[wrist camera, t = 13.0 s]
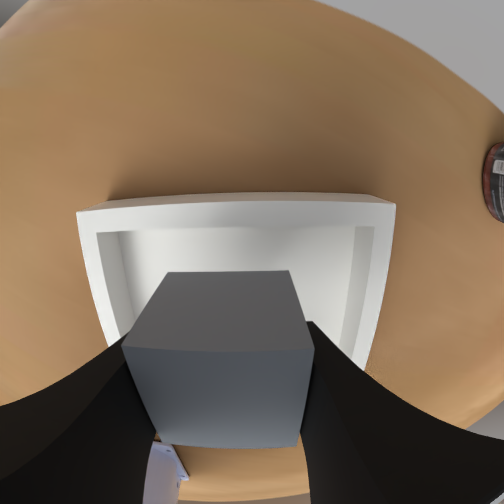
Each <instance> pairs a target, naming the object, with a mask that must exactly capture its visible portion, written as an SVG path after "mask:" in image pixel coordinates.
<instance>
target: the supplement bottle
mask: <svg viewBox="0 0 504 504" xmlns="http://www.w3.org/2000/svg"><path fill="white" fill-rule="evenodd" d="M483 190H484V195H485V200H486V204H487V207H488V209H489V211H490V212H491V214H492V215H493V217H494V218H495V219H497V220H498V221H500V222H502V223H504V143H503V142H502V143H498V144H496V145H495V146H493V147H492V148H491V150H490V151H489V153H488V156H487V158H486V162H485V166H484V172H483Z"/></svg>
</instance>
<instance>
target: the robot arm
mask: <svg viewBox="0 0 504 504" xmlns="http://www.w3.org/2000/svg"><path fill="white" fill-rule="evenodd" d="M306 323H307V326H308V329H309V332H310V335H311V339H312V342H313V345H314V348H315V350H314V356H313V363H312V369H311V375H310V381H309V387H308V392H307V398H306V403H305V408H304V413H303V418H302V423H301V428H300V434H301V439H302V443H303V447H304V451H305V456H306V461H307V468H308V477H309V487H310V497H311V504H490V503H491V502H492V501H494V500H495V499H496V498H498V497H499V496H500V495H501V494H502V493H504V440H501V439H496V438H492V437H488V436H483V435H479V434H476V433H473V432H470V431H467V430H464V429H461V428H459V427H456V426H453V425H451V424H448V423H446V422H444V421H442V420H439V419H437V418H435V417H433V416H431V415H429V414H427V413H425V412H423V411H421V410H420V409H418V408H416V407H414V406H412V405H411V404H409V403H407V402H406V401H404V400H402V399H401V398H399V397H398V396H396V395H395V394H393V393H392V392H390V391H389V390H387V389H386V388H385V387H383V386H382V385H381V384H379V383H378V382H377V381H375V380H374V379H373V378H372V377H370V376H369V375H368V374H367V373H365V372H364V371H363V370H362V369H361V368H359V367H358V366H357V365H356V364H355V363H354V362H353V361H352V360H351V359H350V358H349V357H347V356H346V355H345V354H344V353H343V352H342V351H341V350H340V349H339V348H338V347H337V346H336V345H335V344H334V343H333V342H332V341H331V340H330V339H329V338H328V337H327V336H326V335H325V333H324V332H323V331H322V330H321V329H320V328H319V327H318V326H317V325H316V324H315V323H314V322H313V321H306ZM128 333H129V332H128ZM128 333H127V334H125V335H124V336H123V337H121V338H120V339H119V340H118V341H116V342H115V343H114V344H112V345H111V346H110V347H108V348H107V349H106V350H104V351H103V352H102V353H100V354H99V355H98V356H96V357H95V358H93V359H92V360H90V361H89V362H87V363H86V364H85V365H83V366H82V367H80V368H79V369H77V370H76V371H74V372H73V373H71V374H70V375H68V376H66V377H65V378H63V379H61V380H60V381H58V382H56V383H54V384H52V385H50V386H49V387H47V388H45V389H43V390H41V391H38V392H36V393H34V394H32V395H29V396H27V397H25V398H22V399H20V400H17V401H15V402H12V403H9V404H6V405H3V406H0V504H177V501H178V495H179V488H180V482H181V480H189V476H188V474H187V472H186V471H185V469H184V467H183V465H182V463H181V461H180V459H179V458H178V456H177V454H176V452H175V450H174V448H173V446H172V445H171V444H168V443H161V442H155V441H154V438H155V435H156V429H155V427H154V425H153V423H152V421H151V419H150V417H149V415H148V413H147V410H146V408H145V406H144V404H143V401H142V399H141V397H140V394H139V392H138V390H137V387H136V385H135V382H134V380H133V377H132V375H131V372H130V369H129V367H128V364H127V361H126V358H125V356H124V353H123V350H122V347H121V345H122V343H123V341H124V340H125V338H126V336H127V335H128ZM499 504H504V499H503V500H502V501H501V502H500V503H499Z"/></svg>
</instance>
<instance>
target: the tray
mask: <svg viewBox="0 0 504 504" xmlns="http://www.w3.org/2000/svg"><path fill="white" fill-rule="evenodd" d="M395 213H396V204H395V203H392V202H389V201H386V200H383V199H381V198H378V197H375V196H372V195H369V194H350V193H320V192H240V193H209V194H188V195H171V196H157V197H144V198H132V199H122V200H112V201H105V202H102V203H99V204H97V205H94V206H91V207H88V208H86V209H83V210H81V211H78V212H76V215H77V222H78V229H79V235H80V241H81V246H82V252H83V257H84V262H85V266H86V271H87V275H88V279H89V283H90V287H91V291H92V295H93V299H94V302H95V306H96V309H97V313H98V316H99V319H100V323H101V326H102V329H103V332H104V335H105V338H106V341H107V344H108V346H109V347H110V346H111V345H112V344H114V343H115V342H116V341H118V340H119V339H120V338H121V337H123V336H124V335H125V334H127V333H128V332H129V331H130V330H131V328H132V326H133V325H134V323H135V322H136V320H137V318H138V317H139V315H140V314H141V312H142V311H143V309H144V307H145V306H146V304H147V303H148V301H149V300H150V298H151V296H152V295H153V293H154V292H155V290H156V289H157V287H158V286H159V284H160V283H161V281H162V280H163V278H164V277H165V275H166V274H167V272H224V271H279V270H289V272H290V275H291V278H292V281H293V284H294V287H295V290H296V293H297V296H298V299H299V302H300V305H301V308H302V311H303V314H304V317H305V320H306V321H313V322H314V323H315V324H316V325H317V326H318V327H319V328H320V329H321V330H322V331H323V332H324V333H325V335H326V336H327V337H328V338H329V339H330V340H331V341H332V342H333V343H334V344H335V345H336V346H337V347H338V348H339V349H340V350H341V351H342V352H343V353H344V354H345V355H346V356H347V357H349V358H350V359H351V360H352V361H353V362H354V363H355V364H356V365H357V366H358V367H359V368H361V369H362V370H363V371H364V369H365V366H366V362H367V359H368V356H369V352H370V349H371V345H372V341H373V338H374V334H375V330H376V326H377V322H378V318H379V313H380V309H381V304H382V300H383V295H384V290H385V285H386V279H387V273H388V268H389V261H390V255H391V248H392V240H393V232H394V223H395Z"/></svg>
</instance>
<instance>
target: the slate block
mask: <svg viewBox="0 0 504 504" xmlns="http://www.w3.org/2000/svg"><path fill="white" fill-rule="evenodd" d="M121 347H122V350H123V353H124V356H125V358H126V361H127V364H128V367H129V369H130V372H131V375H132V377H133V380H134V382H135V385H136V387H137V390H138V392H139V394H140V397H141V399H142V401H143V404H144V406H145V408H146V410H147V413H148V415H149V417H150V419H151V421H152V423H153V425H154V427H155V429H156V431H157V433H158V435H159V437H160V439H161V441H162V443H168V444H176V445H184V446H194V447H207V448H228V449H260V448H281V447H294V446H297V441H298V437H299V432H300V428H301V423H302V418H303V413H304V408H305V403H306V398H307V392H308V387H309V381H310V375H311V369H312V363H313V356H314V350H315V348H314V345H313V342H312V339H311V335H310V332H309V329H308V326H307V323H306V320H305V317H304V314H303V311H302V308H301V305H300V302H299V299H298V296H297V293H296V290H295V287H294V284H293V281H292V278H291V275H290V272H289V270H279V271H224V272H167V274H166V275H165V277H164V278H163V280H162V281H161V283H160V284H159V286H158V287H157V289H156V290H155V292H154V293H153V295H152V296H151V298H150V300H149V301H148V303H147V304H146V306H145V307H144V309H143V311H142V312H141V314H140V315H139V317H138V318H137V320H136V322H135V323H134V325H133V326H132V328H131V330H130V331H129V333H128V335H127V336H126V338H125V340H124V341H123V343H122V345H121Z"/></svg>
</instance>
